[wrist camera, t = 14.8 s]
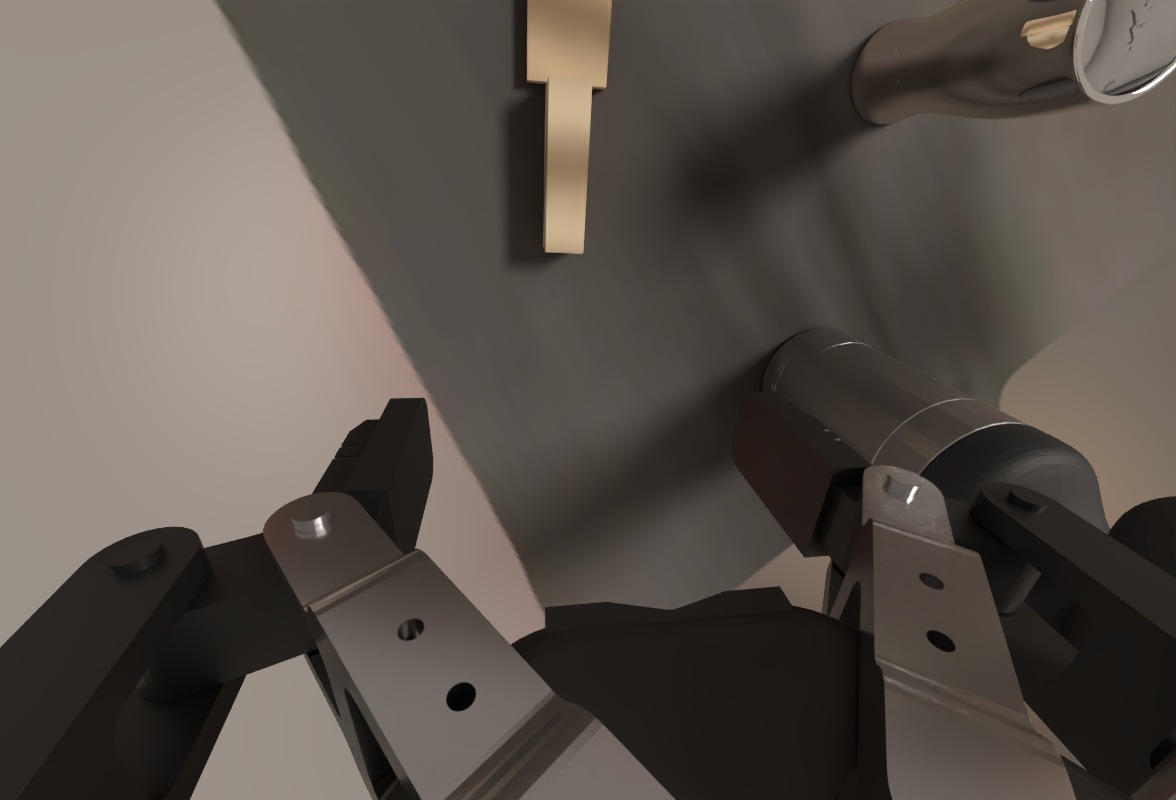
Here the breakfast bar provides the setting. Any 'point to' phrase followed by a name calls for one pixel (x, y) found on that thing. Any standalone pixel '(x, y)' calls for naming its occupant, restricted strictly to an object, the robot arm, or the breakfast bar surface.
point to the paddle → (567, 105)
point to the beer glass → (1015, 59)
